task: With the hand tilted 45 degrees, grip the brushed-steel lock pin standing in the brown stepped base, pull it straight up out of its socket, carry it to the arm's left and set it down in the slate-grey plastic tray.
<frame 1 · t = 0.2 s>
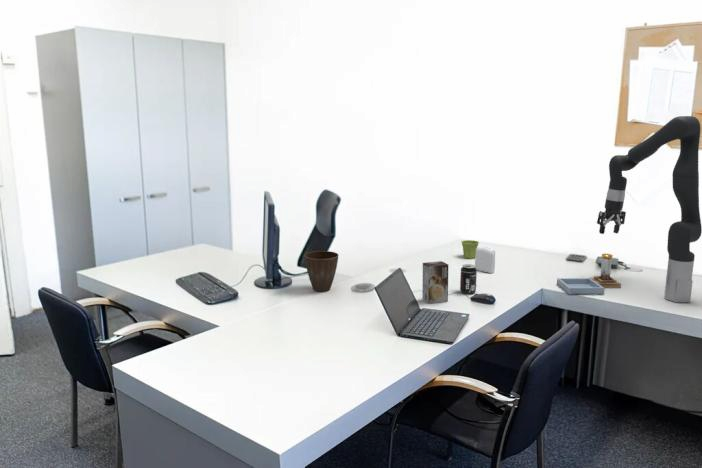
hand: (608, 233, 265), 22 cm above the table, tool pointing down, fingers open, 8 cm apart
lock pin: (604, 280, 260), point 2 cm above the table, touching brown stepped base
brown stepped base: (604, 284, 260), on the table
plant pot 2: (469, 258, 310), on the table
photo printer: (484, 271, 284), on the table
plant pot: (322, 290, 255), on the table
tray: (579, 289, 253), on the table
coffee box: (434, 301, 240), on the table
beverage can: (467, 292, 250), on the table
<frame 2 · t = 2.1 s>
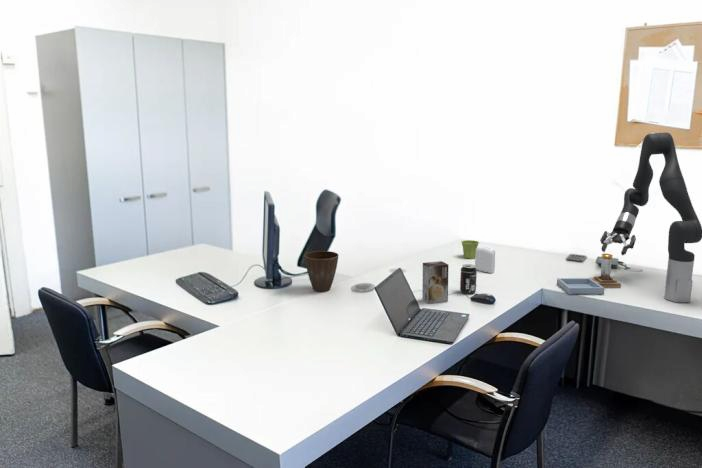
hand: (612, 252, 261), 14 cm above the table, tool tilted 45°, fingers open, 8 cm apart
nothing on the table moved.
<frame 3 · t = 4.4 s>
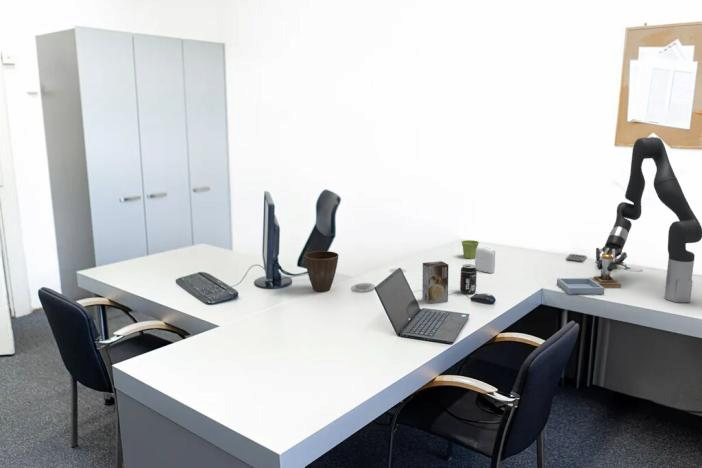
hand: (604, 269, 257), 8 cm above the table, tool tilted 45°, fingers closed on lock pin, 4 cm apart
lock pin: (604, 280, 260), point 2 cm above the table, touching gripper, brown stepped base
everything else where it was.
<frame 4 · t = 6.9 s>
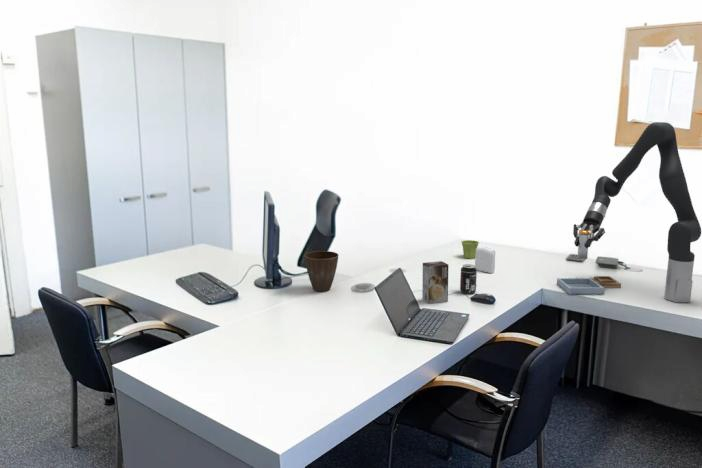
hand: (581, 246, 248), 20 cm above the table, tool tilted 45°, fingers closed on lock pin, 4 cm apart
lock pin: (582, 257, 251), point 14 cm above the table, touching gripper
everything else where it was.
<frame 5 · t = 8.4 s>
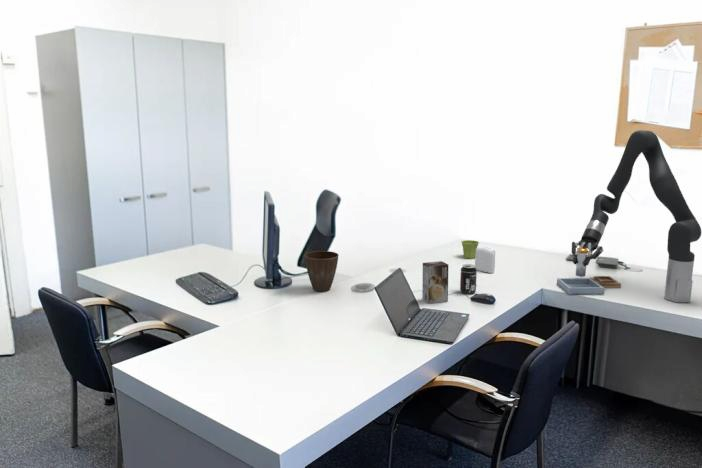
hand: (579, 264, 250), 12 cm above the table, tool tilted 45°, fingers closed on lock pin, 4 cm apart
lock pin: (580, 275, 252), point 6 cm above the table, touching gripper
everything else where it was.
when the fingers open (8 cm above the table, at t = 9.6 s): lock pin drops 1 cm, resting on tray.
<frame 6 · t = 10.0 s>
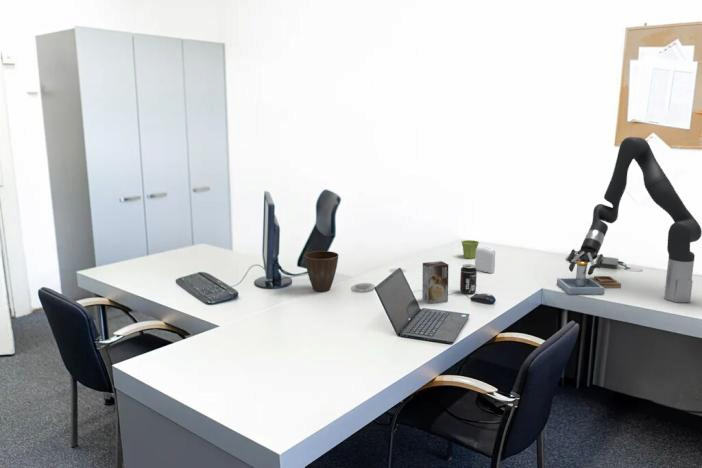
hand: (579, 272, 251), 8 cm above the table, tool tilted 45°, fingers open, 7 cm apart
lock pin: (580, 288, 253), point 1 cm above the table, touching tray
everything else where it was.
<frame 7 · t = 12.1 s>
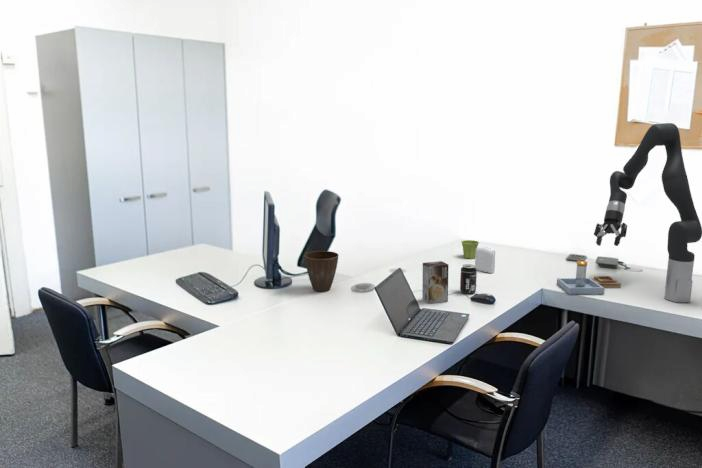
hand: (607, 245, 260), 18 cm above the table, tool tilted 30°, fingers open, 8 cm apart
nothing on the table moved.
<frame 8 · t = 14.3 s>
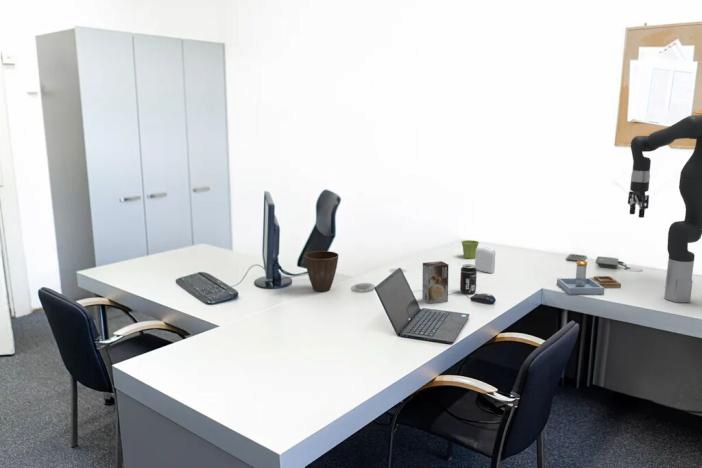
hand: (636, 215, 263), 30 cm above the table, tool pointing down, fingers open, 8 cm apart
nothing on the table moved.
at the end: lock pin inside the target area on the tray (0.1 cm from its centre), point 0.6 cm above the tray's base; the gripper is holding nothing; lock pin moved 15.6 cm from its start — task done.
